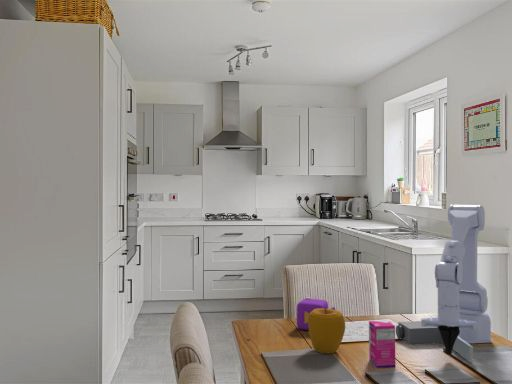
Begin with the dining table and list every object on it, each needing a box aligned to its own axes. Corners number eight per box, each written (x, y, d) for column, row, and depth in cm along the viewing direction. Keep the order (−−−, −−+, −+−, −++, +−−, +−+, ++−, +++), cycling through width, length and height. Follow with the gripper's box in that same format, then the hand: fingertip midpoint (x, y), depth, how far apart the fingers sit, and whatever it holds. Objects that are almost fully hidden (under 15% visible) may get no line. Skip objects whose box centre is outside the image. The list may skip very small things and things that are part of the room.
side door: (443, 341, 153) (443, 327, 153) (448, 341, 153) (448, 327, 153) (469, 361, 134) (469, 346, 134) (474, 361, 134) (474, 346, 134)
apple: (347, 347, 148) (347, 305, 148) (341, 358, 138) (341, 313, 138) (312, 343, 152) (312, 302, 152) (304, 354, 142) (304, 310, 142)
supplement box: (368, 360, 136) (368, 320, 137) (388, 360, 137) (388, 319, 137) (374, 368, 131) (375, 325, 131) (396, 367, 131) (396, 325, 131)
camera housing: (431, 335, 161) (431, 318, 161) (443, 343, 153) (443, 325, 153) (394, 337, 159) (394, 320, 159) (405, 344, 151) (406, 326, 151)
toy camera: (336, 334, 163) (336, 304, 163) (295, 331, 165) (295, 302, 165) (337, 325, 173) (337, 297, 173) (299, 323, 176) (299, 295, 176)
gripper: (423, 306, 134) (423, 355, 134) (479, 309, 131) (479, 359, 131) (420, 301, 141) (419, 347, 141) (473, 303, 138) (473, 351, 138)
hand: (448, 353), depth 137 cm, fingers closed
